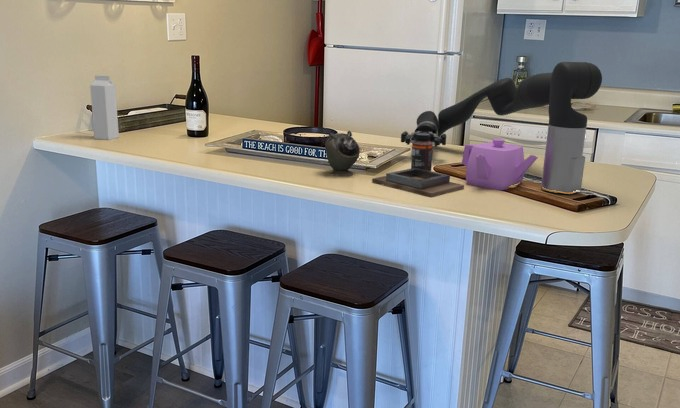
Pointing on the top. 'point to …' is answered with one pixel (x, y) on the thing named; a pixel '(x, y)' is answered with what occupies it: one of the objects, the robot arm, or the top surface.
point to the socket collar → (428, 181)
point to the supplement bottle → (422, 152)
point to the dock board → (427, 192)
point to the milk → (104, 108)
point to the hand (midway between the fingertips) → (421, 142)
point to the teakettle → (495, 164)
